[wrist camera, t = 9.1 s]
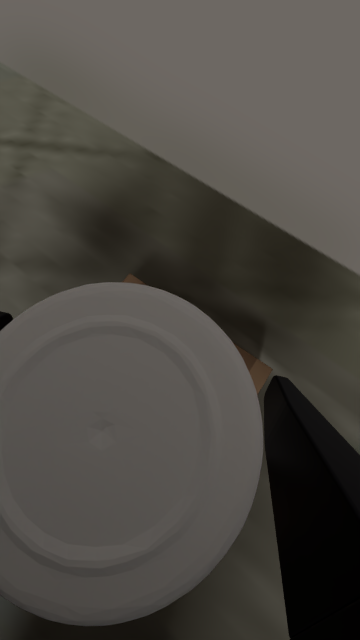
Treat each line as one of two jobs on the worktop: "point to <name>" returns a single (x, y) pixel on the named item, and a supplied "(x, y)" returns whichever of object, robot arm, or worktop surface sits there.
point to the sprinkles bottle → (120, 452)
